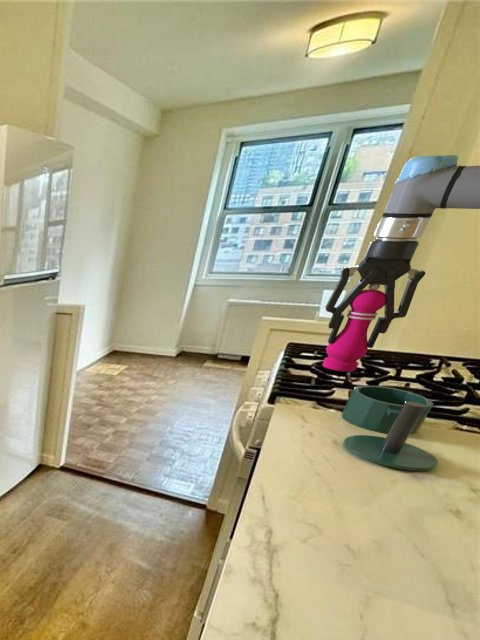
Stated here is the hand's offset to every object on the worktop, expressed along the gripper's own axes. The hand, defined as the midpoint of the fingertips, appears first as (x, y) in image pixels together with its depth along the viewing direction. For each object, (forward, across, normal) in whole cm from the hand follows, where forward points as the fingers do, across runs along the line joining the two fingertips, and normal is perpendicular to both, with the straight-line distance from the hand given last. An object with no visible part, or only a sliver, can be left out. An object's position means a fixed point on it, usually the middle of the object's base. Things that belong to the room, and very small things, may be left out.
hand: (349, 344), depth 115 cm
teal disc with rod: (+14, +8, -30) cm, 34 cm away
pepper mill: (+6, 0, 0) cm, 6 cm away
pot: (+14, +9, -11) cm, 20 cm away
